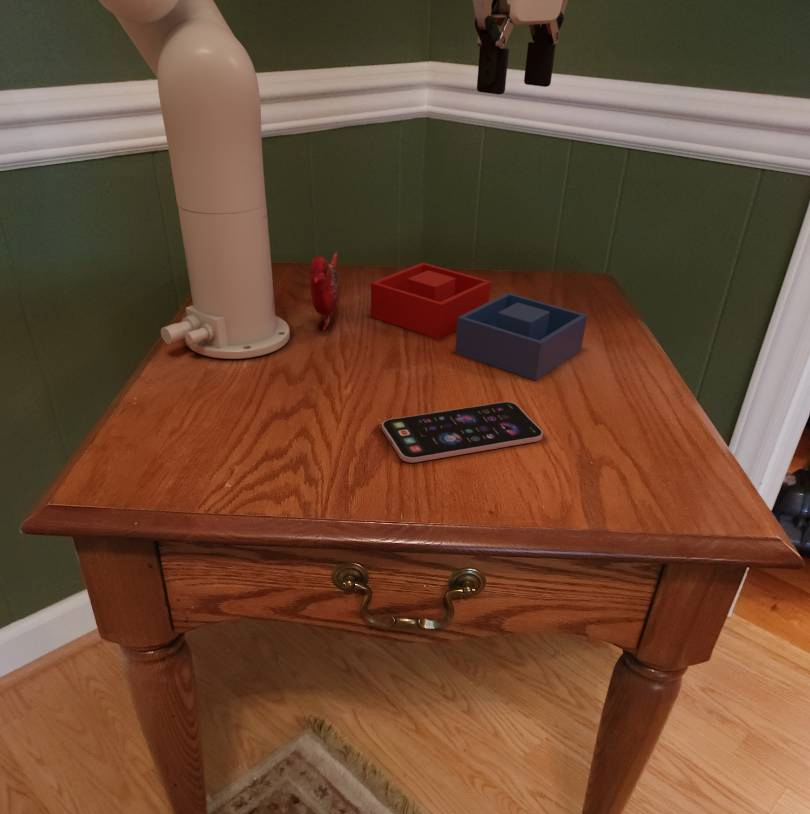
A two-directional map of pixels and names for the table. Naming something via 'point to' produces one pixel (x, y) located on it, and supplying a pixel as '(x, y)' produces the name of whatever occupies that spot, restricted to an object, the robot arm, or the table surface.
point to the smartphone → (460, 431)
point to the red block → (432, 285)
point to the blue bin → (519, 338)
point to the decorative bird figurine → (324, 286)
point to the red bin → (426, 301)
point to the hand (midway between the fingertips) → (514, 88)
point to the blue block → (524, 320)
